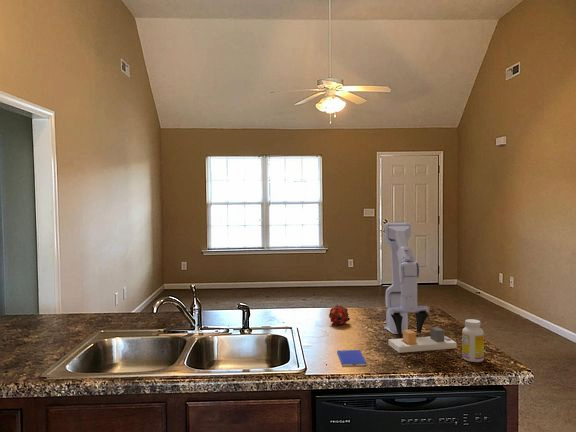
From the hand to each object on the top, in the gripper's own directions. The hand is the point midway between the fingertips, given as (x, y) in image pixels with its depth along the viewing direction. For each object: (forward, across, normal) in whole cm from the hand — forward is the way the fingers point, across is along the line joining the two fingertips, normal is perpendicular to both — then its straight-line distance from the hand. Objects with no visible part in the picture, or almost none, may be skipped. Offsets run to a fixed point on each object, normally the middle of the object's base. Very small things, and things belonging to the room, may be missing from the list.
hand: (409, 332), depth 163 cm
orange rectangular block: (+5, 0, 0) cm, 5 cm away
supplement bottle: (+6, +15, -16) cm, 23 cm away
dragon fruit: (+6, -15, +36) cm, 39 cm away
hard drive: (+6, -24, -7) cm, 26 cm away
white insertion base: (+5, +5, 0) cm, 7 cm away
